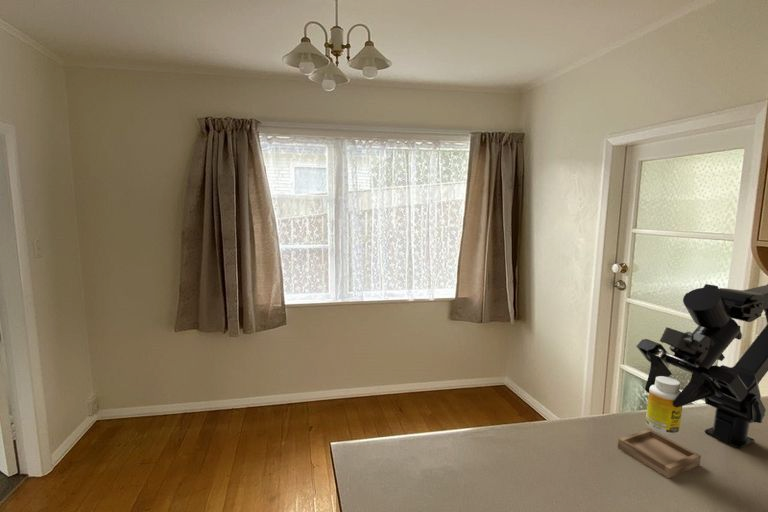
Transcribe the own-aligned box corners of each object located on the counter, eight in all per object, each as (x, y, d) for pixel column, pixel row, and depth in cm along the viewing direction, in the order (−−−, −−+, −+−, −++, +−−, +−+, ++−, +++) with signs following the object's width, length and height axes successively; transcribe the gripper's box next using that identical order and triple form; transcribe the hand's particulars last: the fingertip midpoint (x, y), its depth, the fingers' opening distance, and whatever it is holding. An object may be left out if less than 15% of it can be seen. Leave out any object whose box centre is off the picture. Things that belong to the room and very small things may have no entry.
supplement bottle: (671, 439, 75) (678, 389, 73) (640, 425, 79) (645, 378, 78) (683, 430, 78) (690, 382, 77) (652, 417, 83) (658, 371, 81)
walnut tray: (648, 436, 86) (649, 428, 86) (699, 465, 77) (701, 455, 77) (617, 447, 82) (618, 438, 82) (668, 478, 73) (669, 468, 73)
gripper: (647, 302, 85) (601, 355, 84) (745, 330, 68) (688, 397, 66) (671, 334, 89) (627, 385, 87) (770, 368, 71) (717, 434, 69)
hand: (660, 398), depth 77 cm, fingers closed on supplement bottle, 5 cm apart
